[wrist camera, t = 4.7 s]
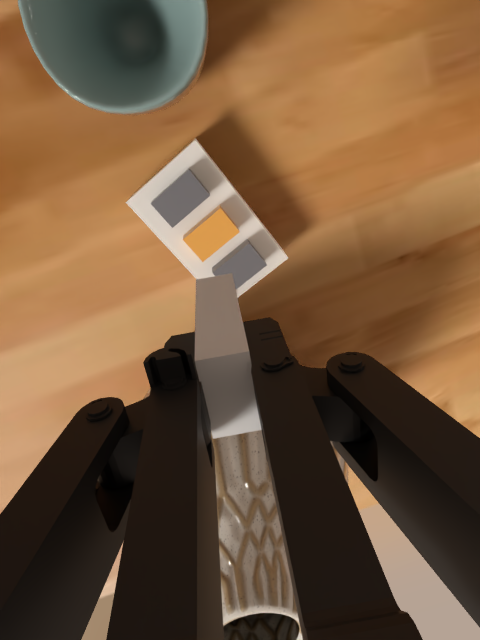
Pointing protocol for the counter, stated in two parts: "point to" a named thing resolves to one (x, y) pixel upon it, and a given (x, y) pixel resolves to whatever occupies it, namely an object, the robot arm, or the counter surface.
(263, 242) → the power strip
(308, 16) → the counter surface
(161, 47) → the cup
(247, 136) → the counter surface
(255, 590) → the vase
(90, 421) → the robot arm
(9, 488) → the counter surface
